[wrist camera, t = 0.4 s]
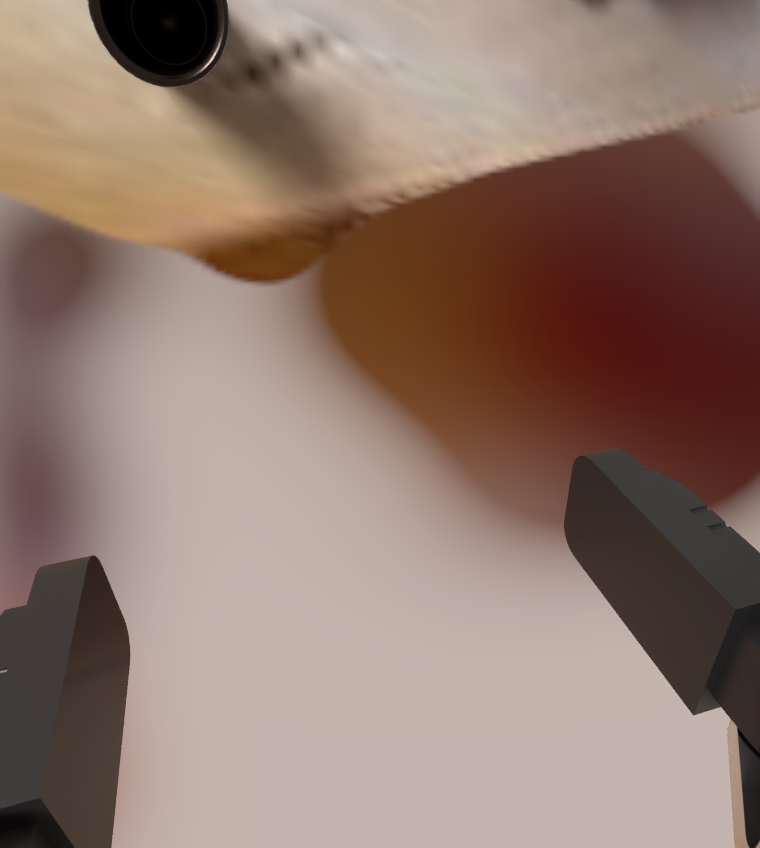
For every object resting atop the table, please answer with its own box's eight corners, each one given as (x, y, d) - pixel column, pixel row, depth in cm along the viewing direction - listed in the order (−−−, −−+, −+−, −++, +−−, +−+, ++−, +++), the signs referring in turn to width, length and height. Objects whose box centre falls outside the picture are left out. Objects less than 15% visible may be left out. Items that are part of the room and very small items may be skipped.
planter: (131, -57, 27) (102, -108, 19) (231, -4, 29) (246, -29, 20) (108, 51, 29) (73, 50, 20) (204, 95, 31) (208, 110, 22)
